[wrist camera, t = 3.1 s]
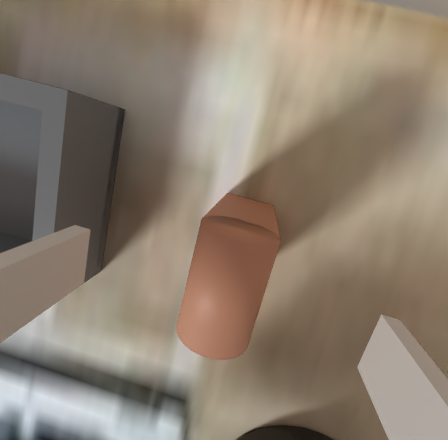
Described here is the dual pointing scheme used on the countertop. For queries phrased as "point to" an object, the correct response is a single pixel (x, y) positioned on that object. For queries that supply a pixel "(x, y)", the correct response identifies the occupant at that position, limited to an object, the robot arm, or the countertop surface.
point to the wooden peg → (228, 277)
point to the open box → (56, 164)
